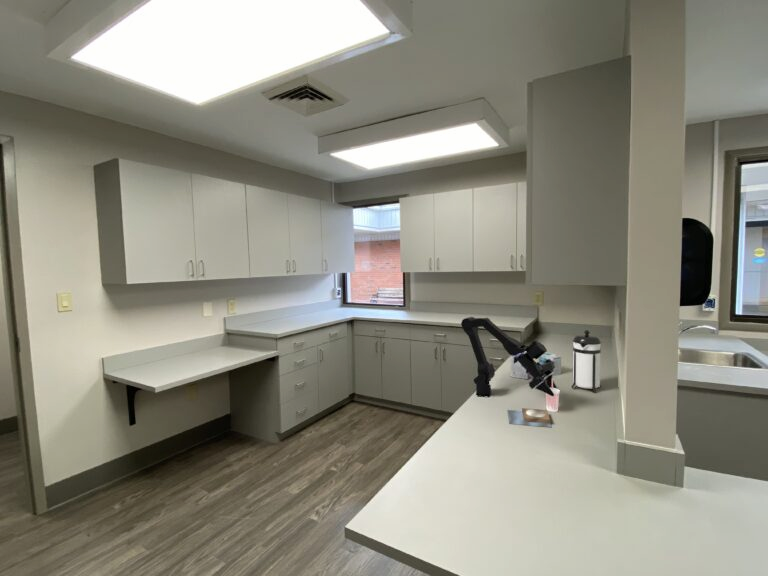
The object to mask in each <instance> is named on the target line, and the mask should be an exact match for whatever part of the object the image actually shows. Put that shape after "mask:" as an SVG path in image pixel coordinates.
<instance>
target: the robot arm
mask: <svg viewBox="0 0 768 576" xmlns="http://www.w3.org/2000/svg"><path fill="white" fill-rule="evenodd" d="M460 324H461V325H460V326H461V328H462V330H463V332H464V334H466V335H467V337H468V339H469V342H470V345H471V348H472V351H473V353H474V357H475V360H476V363H477V376H476V377H475V378H474V379H473V383H474V384H475V386H476V387H475V389H476V391H475V396H476V395H478V396H477V397H484V396H488V397H487V398H490V395H492V394H491V393H492V392H491V391H492V390H491V384H490V382H491V381H492V379H493V378H494V377H495V375H496V370H495V368H494V364H493V363H489V361H488V360H487V357H486V353H485V349H484V347H483V345H482V342H481V338H480V336H479V328H480V327H481V328H484V329H485V330H486V331H487V332H488V333H489V334H490V335H492V336H493V337H494V338H495V339H496V340H497V341H499V342H500V344H502V346H503V348H504V350H505V351H506V352H507V353H508V354H509V355H510V356H515V355H517V354H520V355H519V356H518V357H516V356H515V357H514V363H516V362H519V363H520V364H521V365H522V366H523V367H524V368H526V373H529V374H530V377H531V378H532V379H531V381H530V382H528V387H529V388H530V389H531V390H533V389H535V390H539V391H540V392H543V393H545V394H546V393H547V394H549V395H551V396H554V393H553V392H552V390H551V389H550V388H552V379H553V388H556V389H558V387H557V385H556V383H555V381H554V378H553V377H554V376H553V374H551V373H552V372H553V369H554V368H555V366H554V362H553V361H551V360H550V359H547V360H545V363H543V364H540V363H539V361H538V362H537V361H535V360H539V357H540V356H542V355H543V354H544V353H545V352H548V349H547V347H546V346H545V345H544V344H543V343H541V342H539V341H538V340H537V339H535V340H533V341H532V342H531V343H530V344H529V345H528V344H527V345H526V344H523V343H522V342H520V341H519V340H517V338H516V339H515V338H513V337H511V336H509V335H507V334H506V332H504V331H503V330H502V329H500V328H499V327H498V326H497V325H496V324H495V323H494V322H492V321H491V319H490V318H489V317H477V318H475V317H474V316H468V317H466V318H463V319H462V320H461V323H460ZM523 352H524V354H523ZM550 374H551V375H550Z"/></svg>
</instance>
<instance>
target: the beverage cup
mask: <svg viewBox="0 0 768 576" xmlns="http://www.w3.org/2000/svg"><path fill="white" fill-rule="evenodd" d="M553 381H554V378H553V379H552V388H550V389H551V390H552V392H553V393H554V396H551V395H549V394H547V393H545V404H546V405H545V406H546V410H547V412H548V411H549V412H553V413H554V412H555V413H557V412H558V410H559V402H560V401H559V400H560V394H561V393H560V392H561V390H560V389H558V388H557V389H556V388H553Z"/></svg>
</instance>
